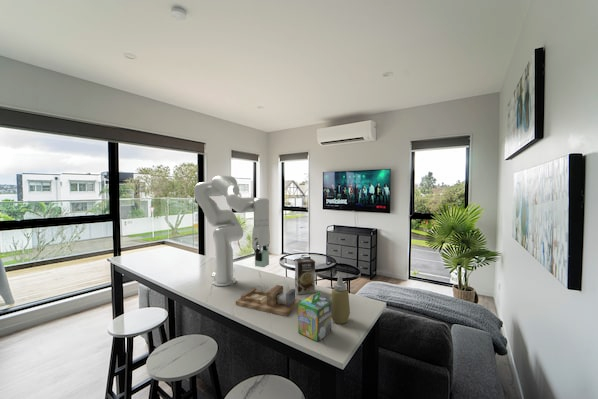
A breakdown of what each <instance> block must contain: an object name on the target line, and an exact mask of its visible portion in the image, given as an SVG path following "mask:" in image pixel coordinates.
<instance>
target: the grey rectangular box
mask: <svg viewBox="0 0 598 399" xmlns="http://www.w3.org/2000/svg"><path fill="white" fill-rule="evenodd" d="M295 299H296V291H295V288H291V289H289V290H288V291H287V292H283V293H281V292H278V293H277V294H276V303H279V304H283V305H286V307H290V306H291V305H292V304H293V303H294V302H295Z"/></svg>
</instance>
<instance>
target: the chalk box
mask: <svg viewBox="0 0 598 399" xmlns="http://www.w3.org/2000/svg"><path fill="white" fill-rule="evenodd" d="M321 294H322V291H321V290H320V291H318V292H316V293H315V294H314V293H311V295H309V296H307V297H306V298H304V299H303V300H301V302H299V303H298V306H297V309H298V310H297V311H298V317H297V318H298V322H297V323H298V326H297V328H298V330H297V332H298V333H299V334H301V335H303V336H305V337H306V338H308V339H311V340H312V341H315V342H318V343H319V342H320V341H321V340H322V339H323V338H325V337H326V336H327V335H328V334H330V333H331V332H332V322H333V320H332V301H331V299H330V300H329V299H327V298H324V297H321Z"/></svg>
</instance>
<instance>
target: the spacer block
mask: <svg viewBox="0 0 598 399" xmlns="http://www.w3.org/2000/svg"><path fill="white" fill-rule="evenodd" d="M269 252H270V251H269V250H268V251H267V250H263V249H261V253H262V261H256V253H255V252H254V266H255V267H258V268H265V267H268V266H269V265H270V253H269Z"/></svg>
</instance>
